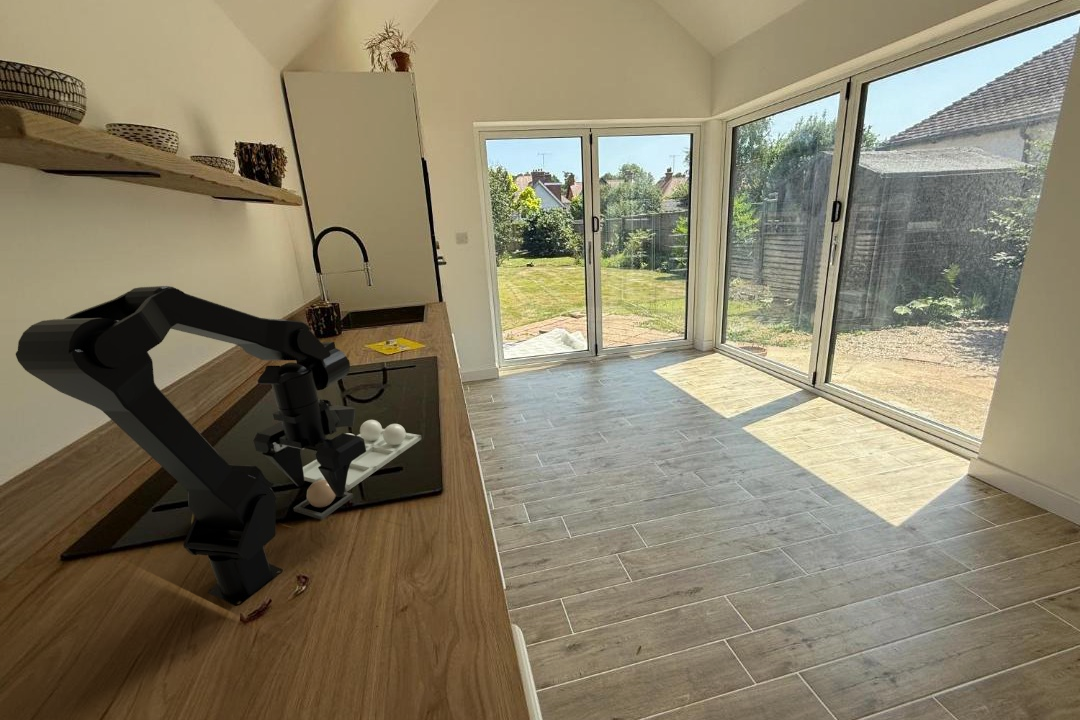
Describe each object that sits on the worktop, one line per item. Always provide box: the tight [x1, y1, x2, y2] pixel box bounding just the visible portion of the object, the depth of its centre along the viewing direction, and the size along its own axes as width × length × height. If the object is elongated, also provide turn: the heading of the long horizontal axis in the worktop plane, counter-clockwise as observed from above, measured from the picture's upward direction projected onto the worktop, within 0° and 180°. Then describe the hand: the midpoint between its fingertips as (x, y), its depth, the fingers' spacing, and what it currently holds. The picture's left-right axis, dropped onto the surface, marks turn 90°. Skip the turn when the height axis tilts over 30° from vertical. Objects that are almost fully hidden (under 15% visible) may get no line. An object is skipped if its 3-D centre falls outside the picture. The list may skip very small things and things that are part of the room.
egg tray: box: [302, 428, 422, 492], centre depth 91 cm, size 14×20×2 cm
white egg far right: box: [359, 419, 383, 441], centre depth 97 cm, size 4×4×4 cm
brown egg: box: [306, 480, 337, 508], centre depth 76 cm, size 4×4×4 cm
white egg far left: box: [383, 423, 407, 446], centre depth 94 cm, size 4×4×4 cm
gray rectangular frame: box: [293, 491, 354, 521], centre depth 76 cm, size 6×6×1 cm
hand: (320, 490), depth 75 cm, fingers open, 9 cm apart
